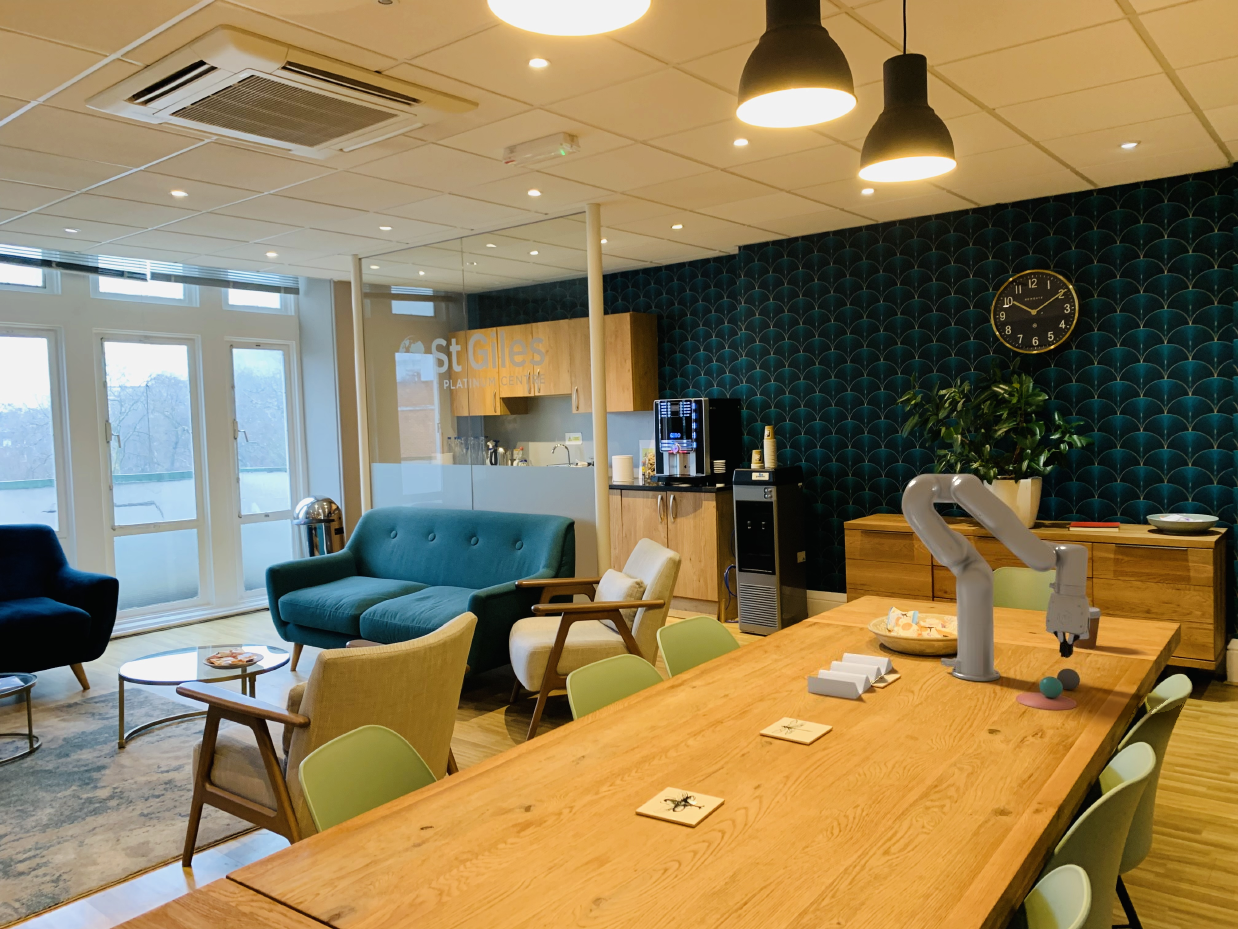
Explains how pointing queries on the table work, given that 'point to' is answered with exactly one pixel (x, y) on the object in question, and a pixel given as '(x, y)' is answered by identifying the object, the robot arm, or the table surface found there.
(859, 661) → the white taco holder
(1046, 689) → the object ball
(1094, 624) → the disposable coffee cup
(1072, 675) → the gray ball
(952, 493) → the robot arm
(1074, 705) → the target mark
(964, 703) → the table surface
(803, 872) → the table surface
